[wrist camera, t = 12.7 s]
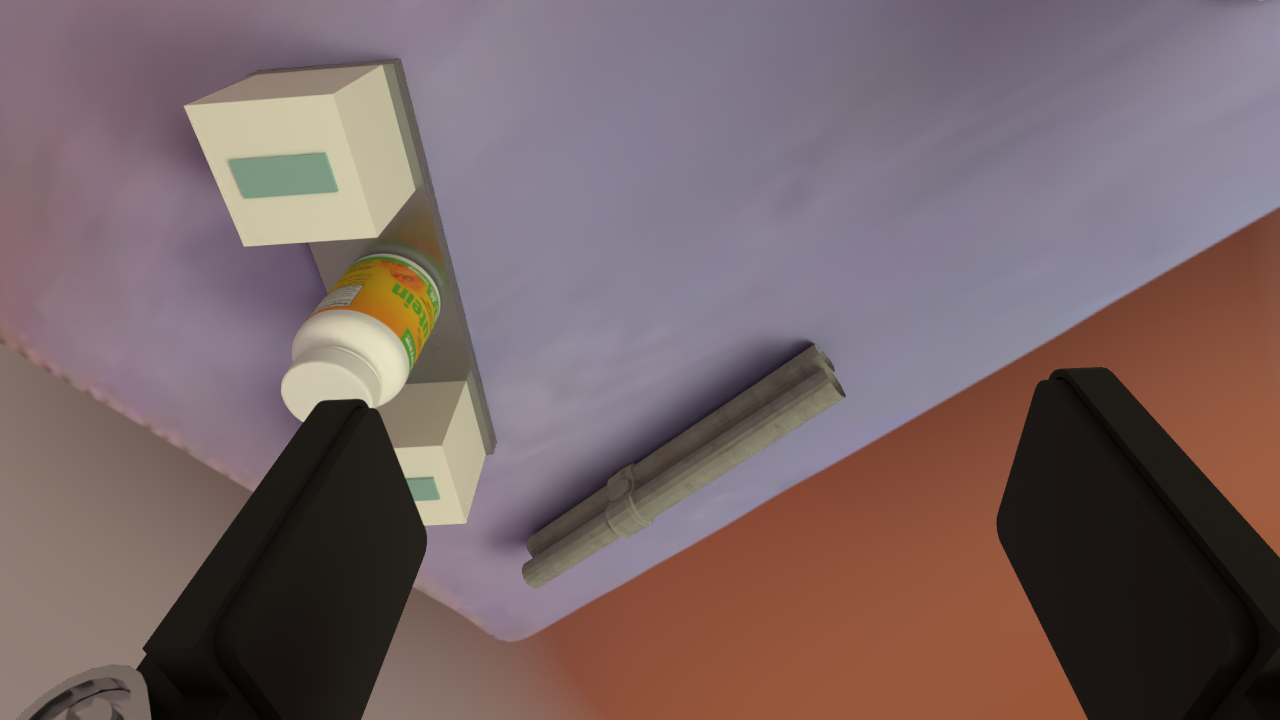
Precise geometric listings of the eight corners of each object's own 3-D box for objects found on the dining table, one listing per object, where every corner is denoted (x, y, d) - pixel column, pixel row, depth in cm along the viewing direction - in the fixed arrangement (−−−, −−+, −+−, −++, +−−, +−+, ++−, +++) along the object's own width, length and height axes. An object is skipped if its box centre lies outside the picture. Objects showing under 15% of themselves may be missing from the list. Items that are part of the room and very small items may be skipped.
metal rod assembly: (807, 332, 41) (826, 379, 37) (833, 360, 42) (854, 409, 38) (521, 528, 51) (510, 583, 46) (547, 547, 52) (539, 602, 48)
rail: (400, 59, 32) (392, 63, 31) (496, 442, 46) (493, 454, 45) (258, 70, 33) (245, 75, 32) (394, 448, 46) (389, 459, 45)
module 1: (382, 64, 31) (331, 95, 26) (415, 190, 35) (375, 239, 29) (256, 74, 32) (180, 107, 26) (301, 198, 35) (241, 248, 30)
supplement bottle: (459, 319, 39) (411, 427, 31) (379, 346, 40) (312, 458, 32) (410, 237, 36) (343, 333, 28) (324, 269, 37) (236, 370, 29)
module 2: (466, 380, 41) (440, 448, 36) (485, 454, 45) (465, 526, 39) (369, 386, 41) (331, 454, 36) (396, 459, 45) (364, 530, 40)
